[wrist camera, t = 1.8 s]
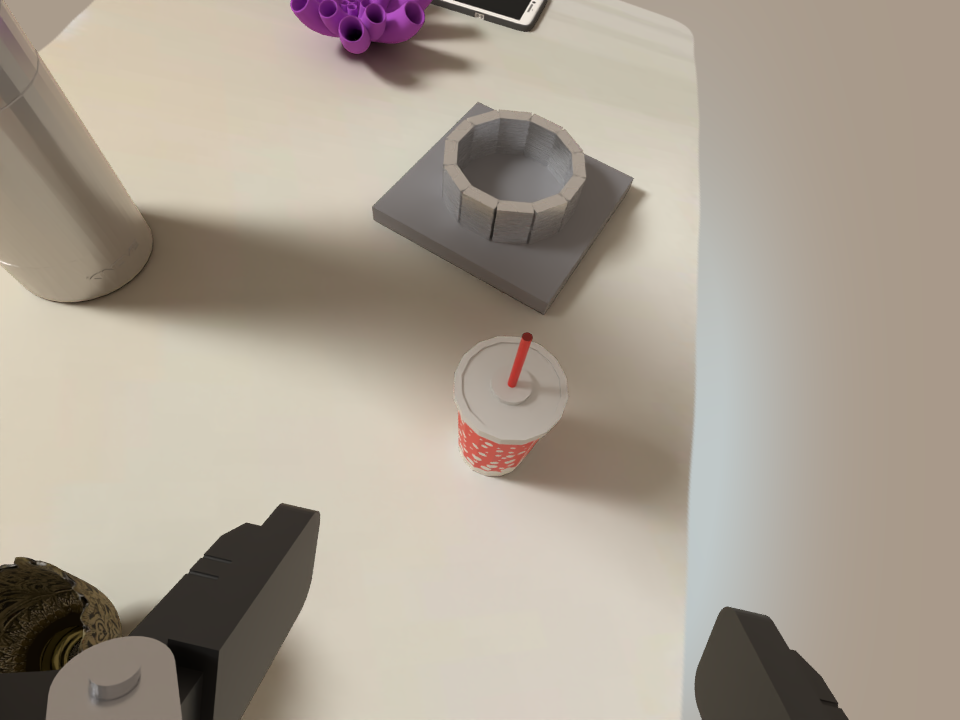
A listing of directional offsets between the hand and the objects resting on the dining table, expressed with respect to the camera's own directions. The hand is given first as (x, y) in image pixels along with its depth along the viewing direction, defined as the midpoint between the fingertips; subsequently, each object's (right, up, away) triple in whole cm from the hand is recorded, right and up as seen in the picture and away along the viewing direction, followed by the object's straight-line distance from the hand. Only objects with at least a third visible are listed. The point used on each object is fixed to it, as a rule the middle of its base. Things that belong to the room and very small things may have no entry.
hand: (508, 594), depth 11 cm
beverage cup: (0, -1, +26) cm, 26 cm away
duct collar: (+2, +19, +35) cm, 40 cm away
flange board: (+2, +18, +36) cm, 40 cm away
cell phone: (-1, +45, +51) cm, 68 cm away
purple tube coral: (-12, +37, +45) cm, 60 cm away
